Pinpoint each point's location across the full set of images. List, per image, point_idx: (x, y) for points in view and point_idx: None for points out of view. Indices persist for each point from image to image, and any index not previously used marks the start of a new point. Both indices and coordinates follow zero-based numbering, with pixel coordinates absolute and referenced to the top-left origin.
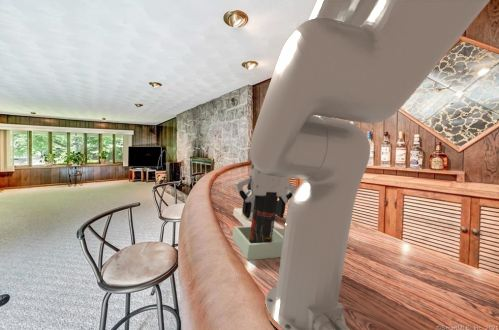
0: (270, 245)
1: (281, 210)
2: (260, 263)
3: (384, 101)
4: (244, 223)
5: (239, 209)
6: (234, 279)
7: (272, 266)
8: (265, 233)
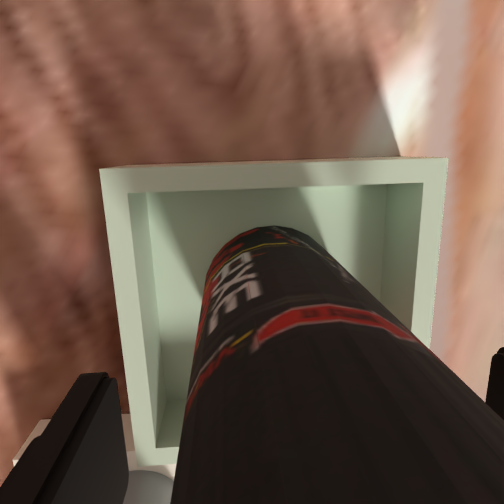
0: (279, 162)
1: (87, 436)
2: (342, 111)
3: None
4: None
5: None
6: None
7: (287, 69)
8: (299, 251)
